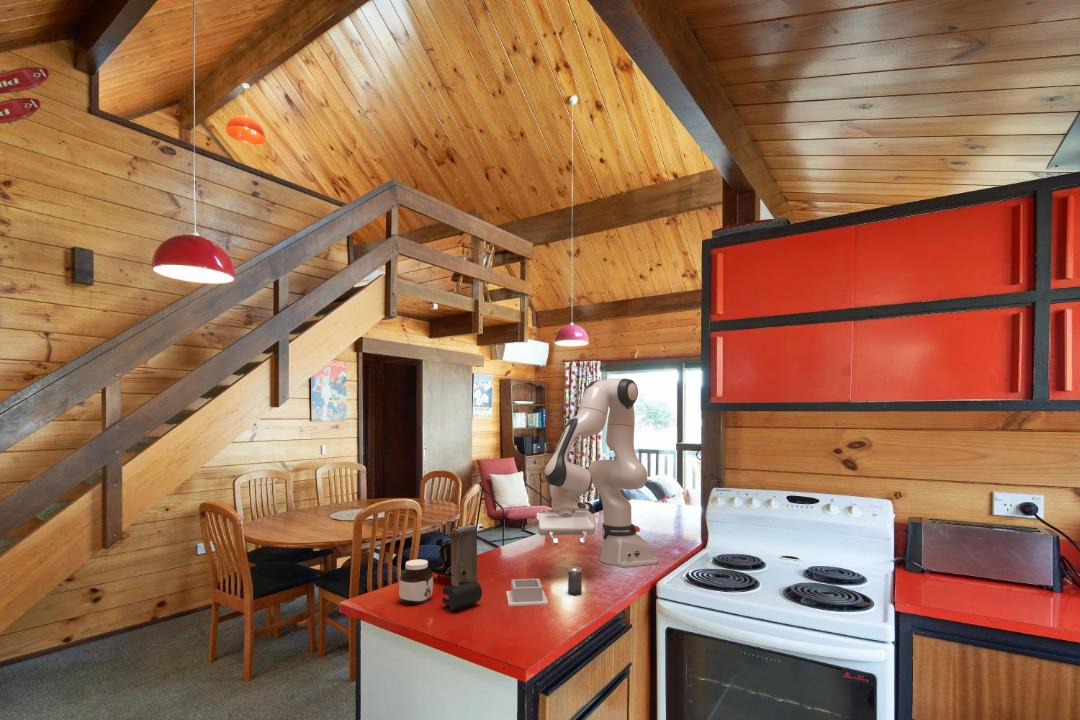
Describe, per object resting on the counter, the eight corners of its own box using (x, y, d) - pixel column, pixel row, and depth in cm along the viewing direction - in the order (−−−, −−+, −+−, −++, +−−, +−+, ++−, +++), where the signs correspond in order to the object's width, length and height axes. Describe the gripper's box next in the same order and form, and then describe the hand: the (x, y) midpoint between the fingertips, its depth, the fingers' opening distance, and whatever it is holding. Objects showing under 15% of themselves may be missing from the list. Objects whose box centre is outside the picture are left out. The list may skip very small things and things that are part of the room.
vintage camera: (446, 576, 194) (445, 519, 196) (478, 582, 185) (477, 523, 187) (426, 583, 186) (425, 524, 188) (458, 590, 177) (457, 528, 179)
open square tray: (543, 591, 176) (543, 577, 176) (548, 604, 164) (548, 588, 164) (506, 593, 174) (506, 578, 175) (508, 606, 163) (508, 590, 163)
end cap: (456, 615, 156) (456, 590, 156) (441, 609, 161) (441, 585, 161) (482, 606, 163) (482, 582, 164) (467, 600, 168) (467, 577, 169)
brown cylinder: (580, 591, 177) (580, 565, 177) (583, 595, 172) (583, 569, 173) (566, 591, 176) (566, 566, 177) (569, 596, 172) (569, 570, 172)
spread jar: (412, 608, 161) (413, 568, 162) (386, 601, 167) (387, 562, 168) (440, 596, 171) (441, 559, 172) (415, 590, 177) (416, 553, 178)
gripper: (536, 505, 192) (539, 539, 181) (592, 504, 194) (599, 538, 184) (535, 515, 196) (537, 550, 185) (590, 515, 198) (596, 549, 188)
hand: (568, 544), depth 185 cm, fingers open, 8 cm apart
